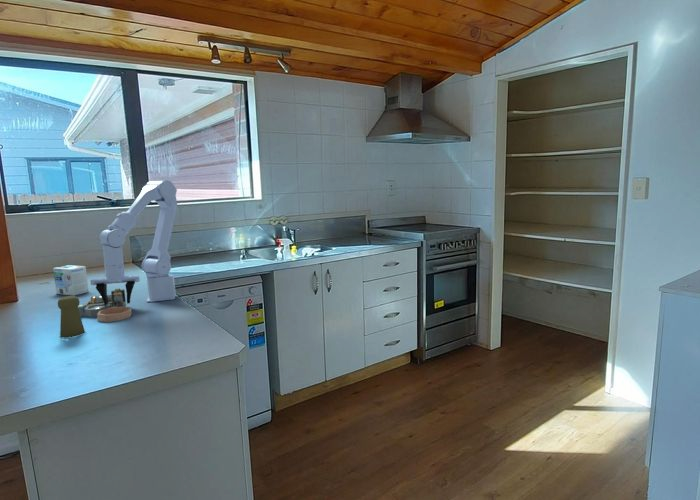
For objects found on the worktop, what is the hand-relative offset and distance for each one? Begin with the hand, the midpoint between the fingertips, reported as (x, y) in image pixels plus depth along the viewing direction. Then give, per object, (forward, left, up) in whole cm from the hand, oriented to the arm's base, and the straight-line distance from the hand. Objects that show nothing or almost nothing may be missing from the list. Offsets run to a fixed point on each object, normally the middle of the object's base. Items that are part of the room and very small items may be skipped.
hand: (117, 303), depth 146 cm
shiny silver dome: (+5, +3, -1) cm, 6 cm away
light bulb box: (+21, -36, -2) cm, 42 cm away
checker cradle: (+5, +3, -2) cm, 7 cm away
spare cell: (+5, -6, -2) cm, 8 cm away
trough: (+5, -6, -2) cm, 8 cm away
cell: (-1, 0, -2) cm, 2 cm away
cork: (+8, +23, -2) cm, 25 cm away
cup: (-1, +10, -2) cm, 10 cm away
